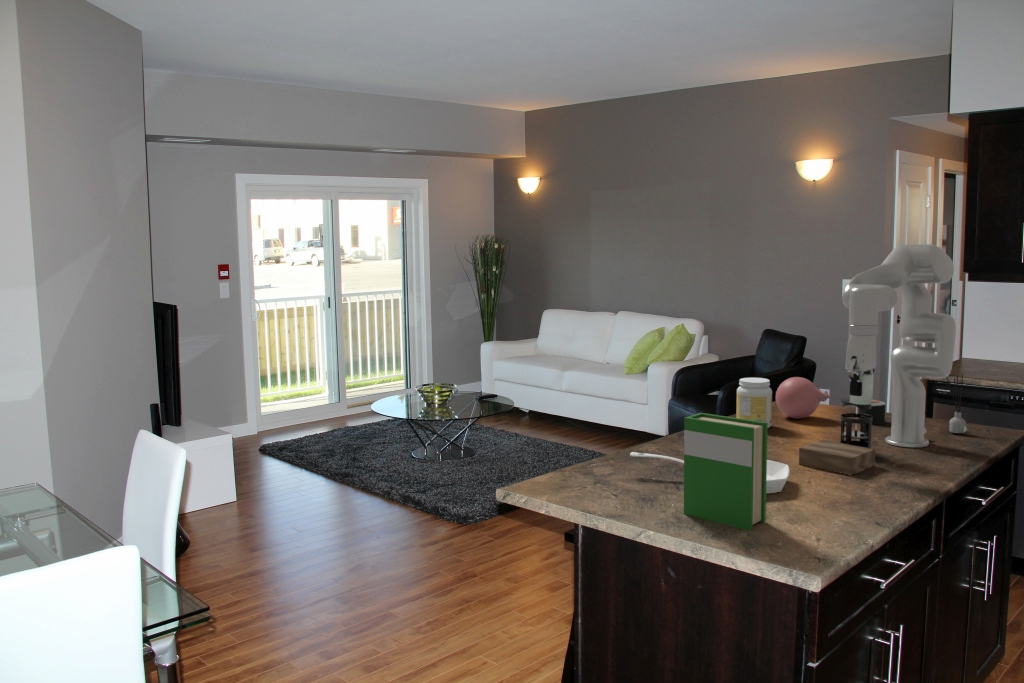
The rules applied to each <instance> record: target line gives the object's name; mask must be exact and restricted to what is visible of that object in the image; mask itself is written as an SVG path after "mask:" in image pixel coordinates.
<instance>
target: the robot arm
mask: <svg viewBox="0 0 1024 683" xmlns="http://www.w3.org/2000/svg"><path fill="white" fill-rule="evenodd" d="M954 271H955V267H954V262H953V260H952V258H951V257H950V256H949V255H948V254H947V253H946V251H944V249H942V248H940V247H939V246H938V245H935V244H931V243H930V244H928V243H926V244H902V245H897V246H896V247H894V248H893V249H892V250H891V251H890V253H889V254H888V255H887V256H886V258H885V259H884V261H883V262H882V263H881V264H880V265H877V266H874V267H872V268H870V269H867V270H864V271H862V272H860V273H858V274H856V275H854V276H853V277H852V278H851V279H850V281H848V283H847V284H846V286H845V288H844V289H843V291H842V297H841V298H842V304H843V306H844V307H845V308H847V310H849V311H848V338H847V345H846V353H845V354H846V355H845V367H844V368H845V370H846V372H847V374H848V377H849V380H848V381H849V396H850V395H853V396H862V382H861V378H862V373H868V374H873V375H874V373H875V369H876V367H877V359H878V355H877V354H878V353H877V352H878V351H877V350H878V349H877V348H878V347H877V346H878V345H877V337H878V334H879V312H887V311H890V310H892V309H893V308H894V307H896V304H897V302H898V294H897V291H896V289H898V288H899V289H900V292H901V296H902V301H901V302H902V305H901V312H900V322H899V336H900V338H901V339H902V340H904V341H905V342H913V343H928V344H935V347H933V346H930V347H929V346H921V345H920V346H919V345H900V346H897V347H896V348H894V349H893V350H892V351H891V354H890V367H891V373H892V398H891V400H892V402H891V424H890V425H891V426H890V427H891V429H890V430H891V431H890V435H888V436H886V437H885V443H887V444H889V445H892V446H896V447H902V448H924V447H925V448H926V447H928V446H929V444H930V441H929V440H928V439H927V438H925V434H926V433H927V429H926V427H925V419H926V418H925V416H926V415H925V413H926V397H927V396H926V394H927V392H926V387H925V385H924V383H923V381H921V378H930V379H945V378H946V377H947V378H948V377H949V375H950V374H951V372H952V369H953V362H954V351H955V344H956V335H957V334H956V332H957V326H956V321H955V318H954V317H953V316H952V315H951V314H948V313H942V312H941V313H940V312H932V306H933V296H932V294H931V292H930V291H929V289H928V287H926V286H925V284H946V283H948V282H950V281H951V280H952V278H953V275H954ZM856 373H858V376H857V374H856ZM919 377H920V378H919ZM874 378H875V376H874V377H873V379H874ZM947 378H946V379H947Z"/></svg>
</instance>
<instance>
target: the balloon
mask: <svg viewBox="0 0 1024 683" xmlns="http://www.w3.org/2000/svg"><path fill="white" fill-rule="evenodd" d="M831 398H832V395H831V394H829V392H828V390H823V391H822V390H820V389H819V388H817V386H816V385H815V384H814V383H813V381H811V380H809V379H807V378H805V377H800V376H793V377H789V378H787V379H785V380H784V381H782V382H781V383H780V384H779V386H778V387H777V390H776V391H775V403H776V406H777V408H778V409H779V411H780V412H781V413H782V414H784V415H785V416H787V417H789V418H791V419H796V420H798V419H801V420H802V419H805V418H808V417H810V416H811V415H812V414H814V413H815V412H816V410H817V409H818V407H819V404H820V403H821V402H826V401H827V400H828V399H831Z"/></svg>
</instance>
